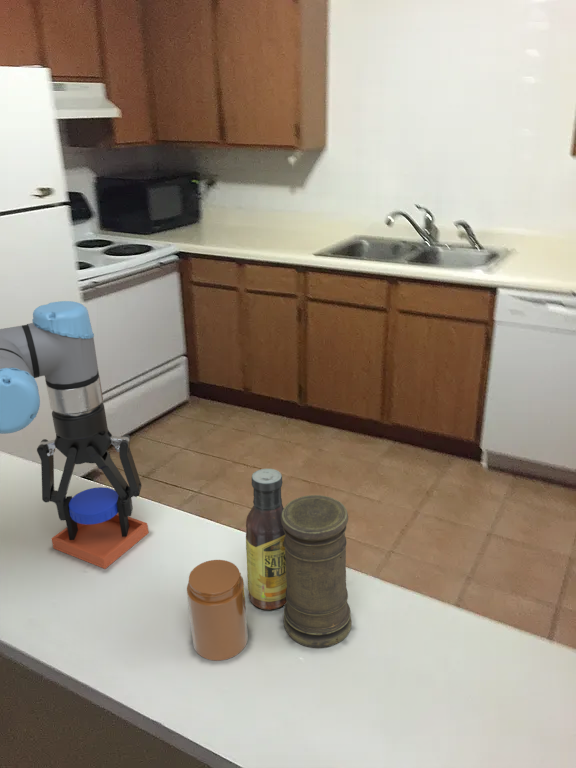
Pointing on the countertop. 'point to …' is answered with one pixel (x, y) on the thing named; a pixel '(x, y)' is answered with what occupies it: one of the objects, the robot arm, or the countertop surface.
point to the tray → (100, 541)
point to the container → (316, 571)
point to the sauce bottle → (266, 542)
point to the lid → (94, 505)
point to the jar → (217, 610)
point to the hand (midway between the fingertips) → (99, 533)
